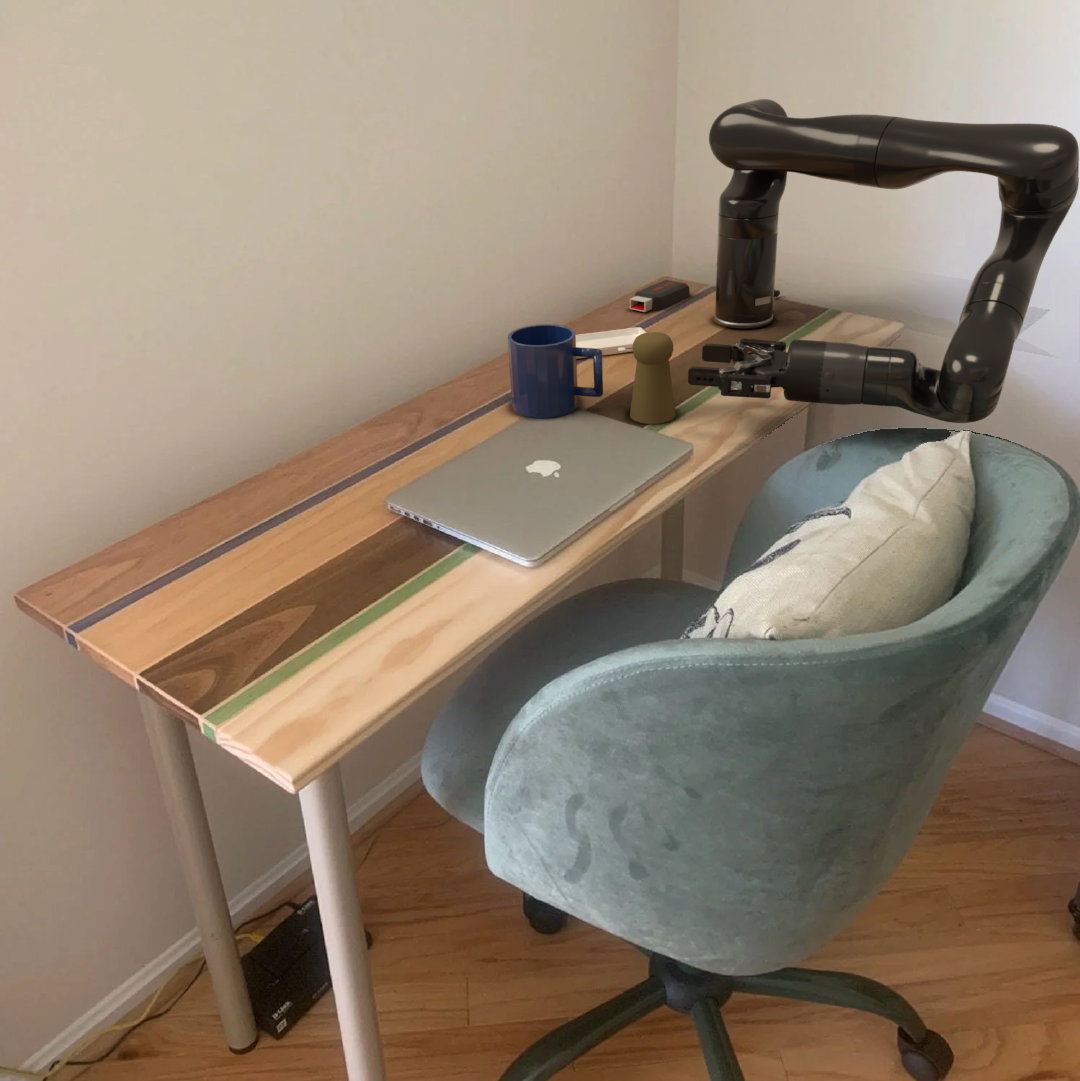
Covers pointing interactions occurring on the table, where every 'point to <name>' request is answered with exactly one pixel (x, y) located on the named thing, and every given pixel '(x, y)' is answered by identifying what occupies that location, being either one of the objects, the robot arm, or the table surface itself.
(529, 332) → the mug
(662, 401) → the olive pawn figure
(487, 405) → the table surface
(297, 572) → the table surface
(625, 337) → the phone case
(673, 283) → the usb drive
